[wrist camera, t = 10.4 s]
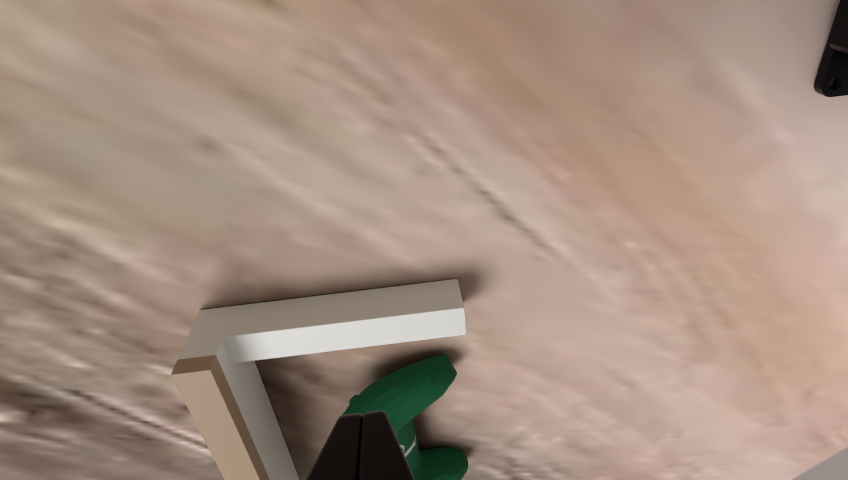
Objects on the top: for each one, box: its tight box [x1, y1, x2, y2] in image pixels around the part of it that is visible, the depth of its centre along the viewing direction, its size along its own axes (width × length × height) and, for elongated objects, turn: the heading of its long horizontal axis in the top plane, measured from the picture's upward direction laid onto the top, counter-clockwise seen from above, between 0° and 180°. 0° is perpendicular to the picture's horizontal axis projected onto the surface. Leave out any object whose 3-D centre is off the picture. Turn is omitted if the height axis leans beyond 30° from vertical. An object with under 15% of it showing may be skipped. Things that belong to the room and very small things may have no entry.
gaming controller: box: [343, 354, 468, 480], centre depth 26 cm, size 9×4×6 cm
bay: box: [171, 279, 466, 480], centre depth 26 cm, size 12×18×4 cm, turn 5°
